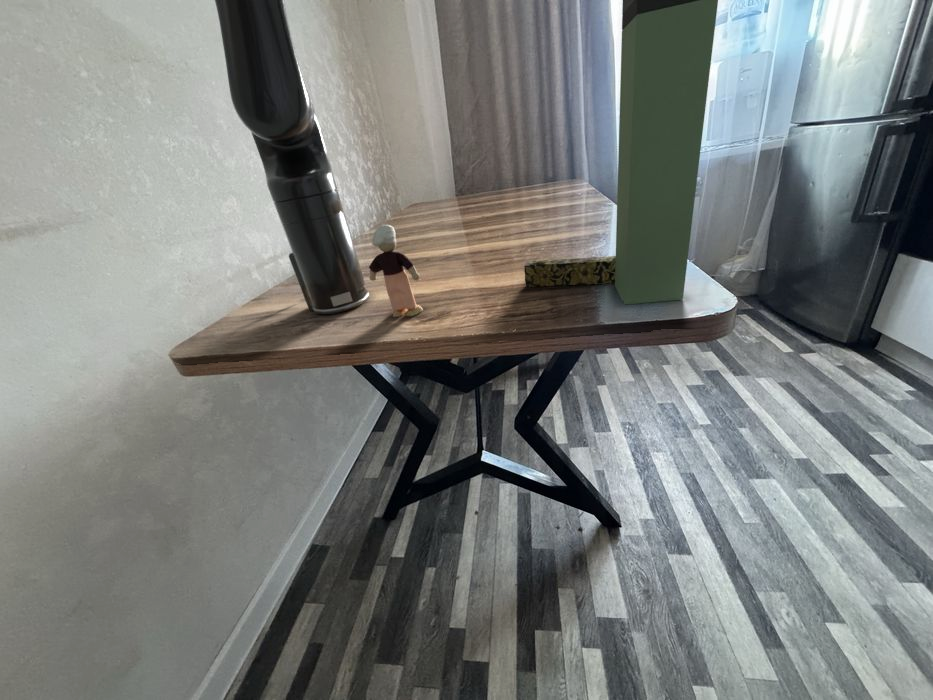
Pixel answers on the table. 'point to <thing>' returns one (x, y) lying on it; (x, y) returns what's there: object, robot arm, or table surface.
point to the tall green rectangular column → (660, 142)
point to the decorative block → (570, 271)
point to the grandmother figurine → (394, 272)
